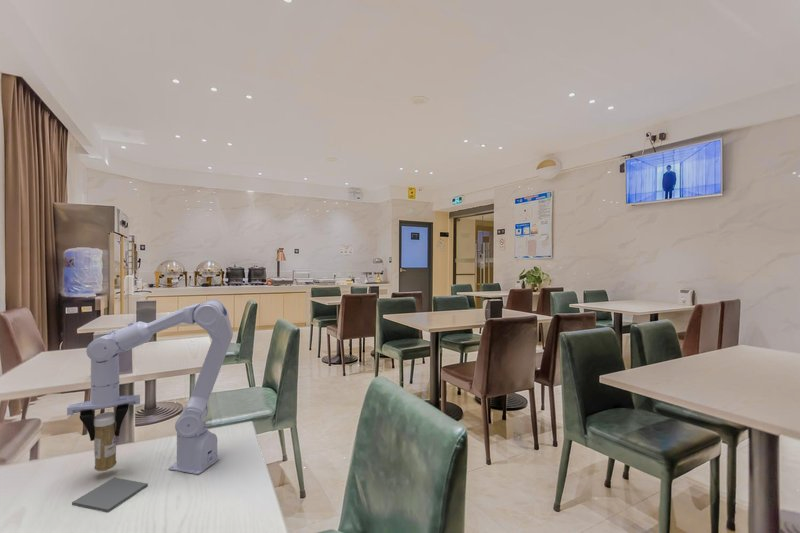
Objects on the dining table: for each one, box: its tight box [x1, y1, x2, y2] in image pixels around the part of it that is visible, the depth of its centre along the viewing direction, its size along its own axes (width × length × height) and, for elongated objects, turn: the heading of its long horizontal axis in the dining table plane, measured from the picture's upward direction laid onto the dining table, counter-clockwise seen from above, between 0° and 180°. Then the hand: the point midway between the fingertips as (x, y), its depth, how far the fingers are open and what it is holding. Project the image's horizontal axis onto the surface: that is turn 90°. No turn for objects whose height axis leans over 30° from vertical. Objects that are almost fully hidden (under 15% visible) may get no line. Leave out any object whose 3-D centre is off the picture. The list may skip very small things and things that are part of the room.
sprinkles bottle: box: [93, 411, 117, 472], centre depth 97 cm, size 5×5×13 cm
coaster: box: [71, 477, 149, 513], centre depth 90 cm, size 10×10×1 cm
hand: (105, 436), depth 98 cm, fingers closed on sprinkles bottle, 4 cm apart
